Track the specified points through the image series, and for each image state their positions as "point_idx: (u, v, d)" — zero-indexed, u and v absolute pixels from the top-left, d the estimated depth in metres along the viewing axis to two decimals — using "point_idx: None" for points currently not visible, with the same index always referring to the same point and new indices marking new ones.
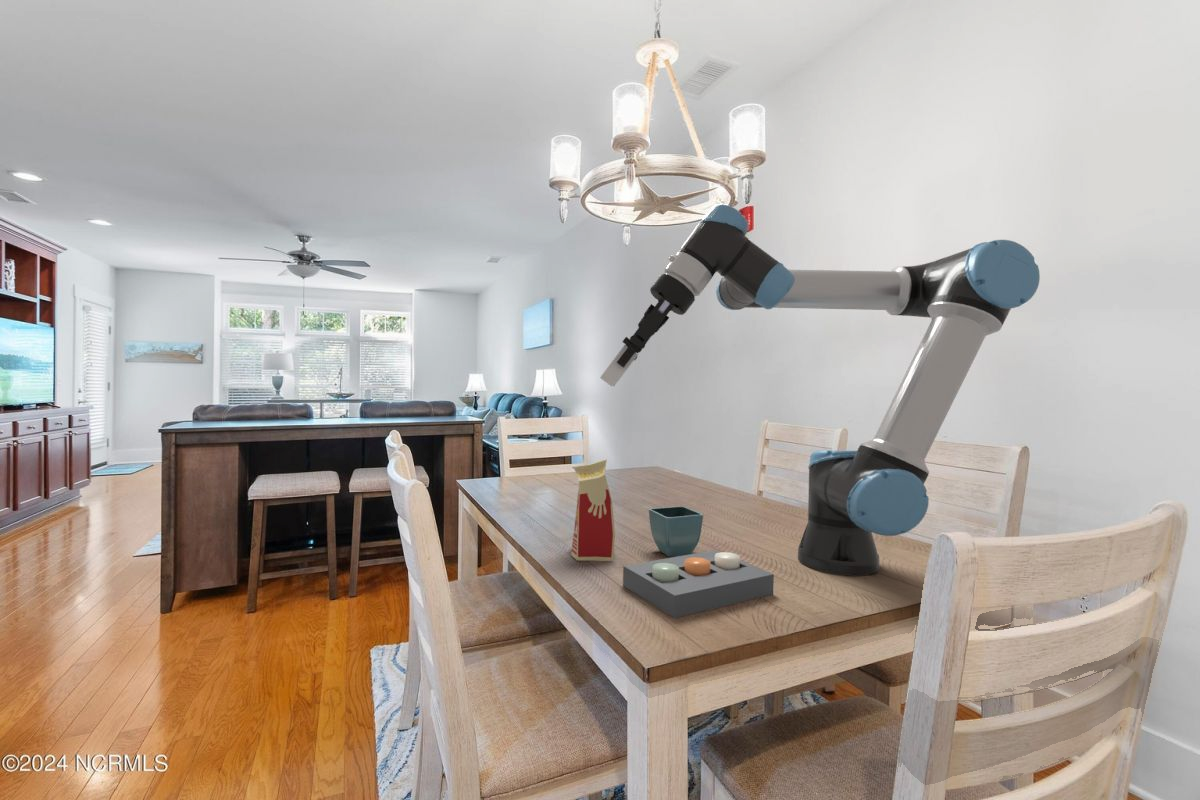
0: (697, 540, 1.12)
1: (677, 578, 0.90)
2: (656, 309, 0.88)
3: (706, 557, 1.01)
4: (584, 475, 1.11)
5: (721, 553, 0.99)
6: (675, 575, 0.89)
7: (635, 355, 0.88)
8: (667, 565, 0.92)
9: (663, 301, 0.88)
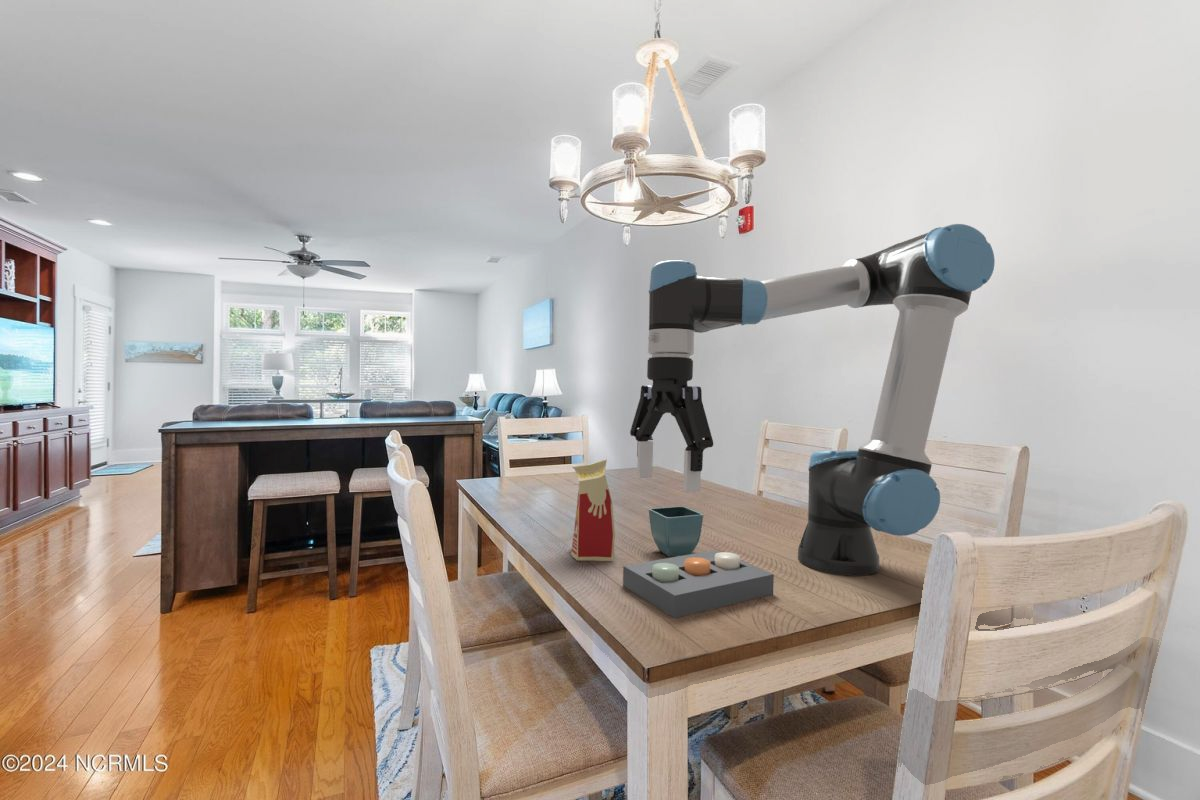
0: (697, 540, 1.12)
1: (677, 578, 0.90)
2: (692, 400, 0.84)
3: (706, 557, 1.01)
4: (584, 475, 1.11)
5: (721, 553, 0.99)
6: (675, 575, 0.89)
7: None
8: (667, 565, 0.92)
9: (692, 389, 0.84)
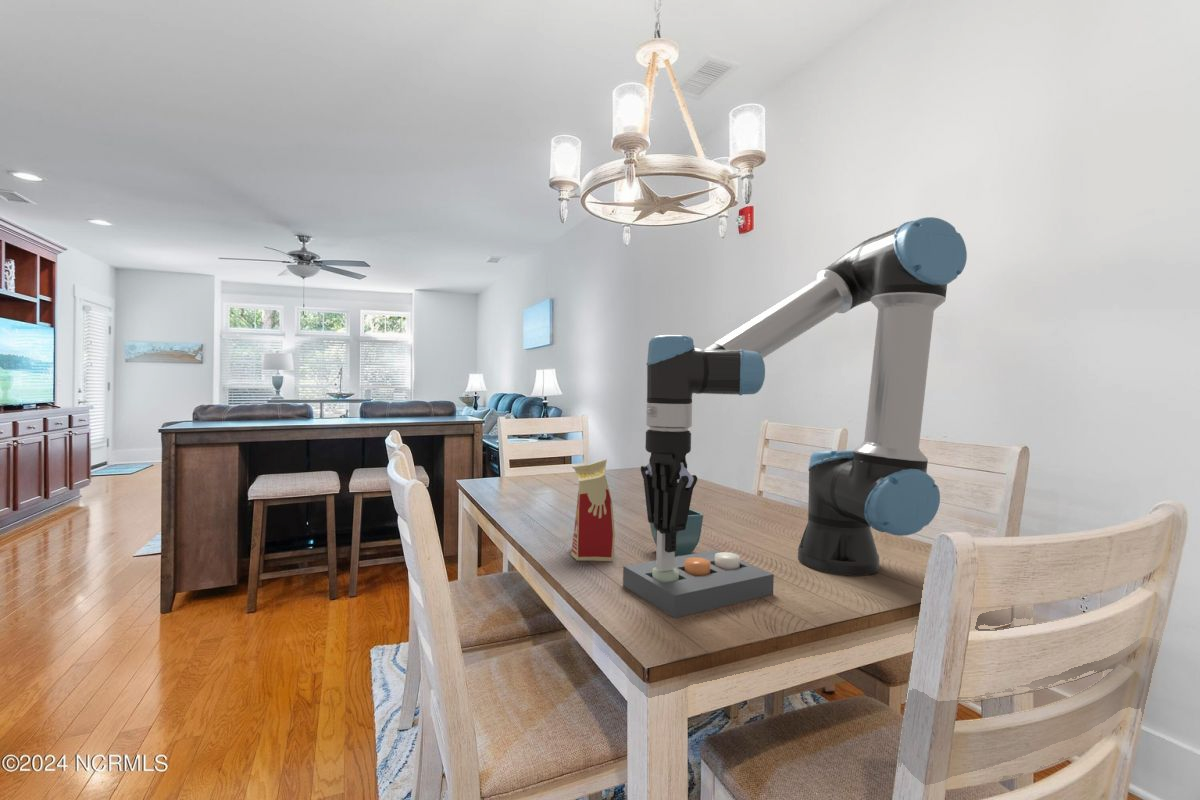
0: (697, 540, 1.12)
1: None
2: (683, 490, 0.85)
3: (706, 557, 1.01)
4: (584, 475, 1.11)
5: (721, 553, 0.99)
6: (675, 579, 0.89)
7: None
8: None
9: (688, 481, 0.84)
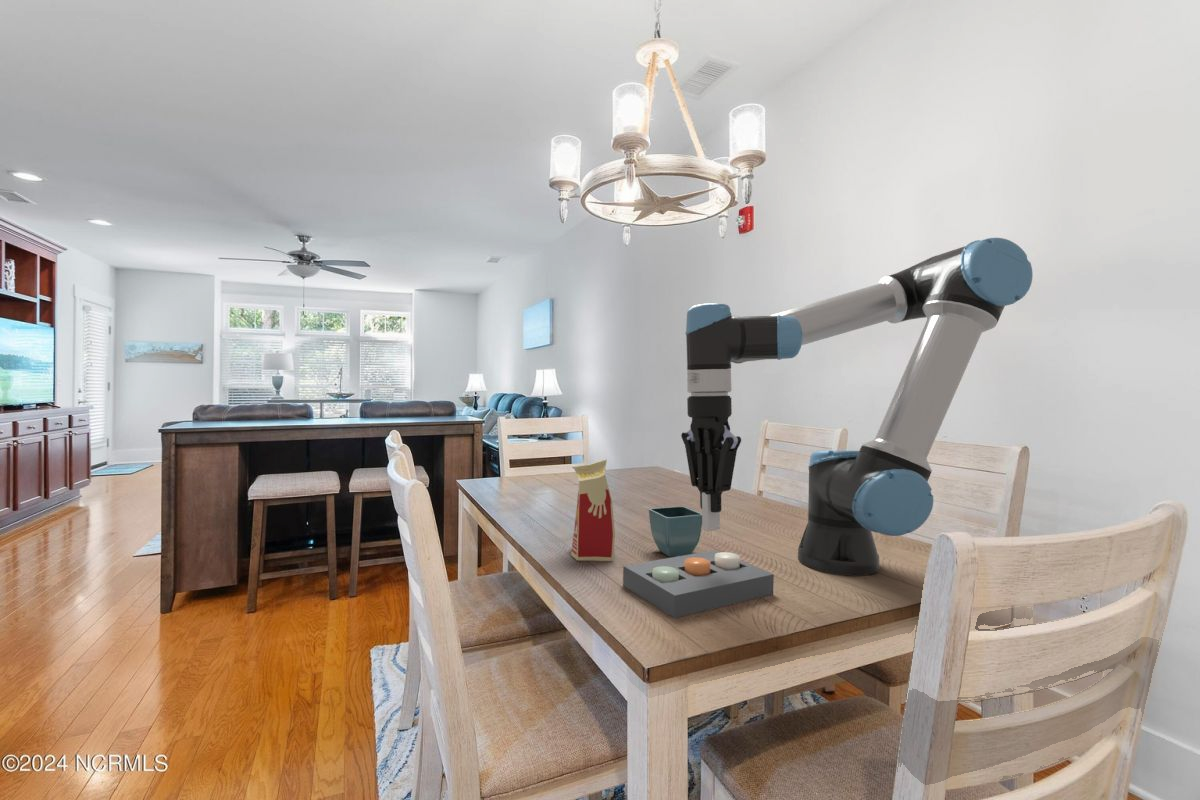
0: (697, 540, 1.12)
1: None
2: (728, 451, 0.89)
3: (706, 557, 1.01)
4: (584, 475, 1.11)
5: (721, 553, 0.99)
6: (675, 579, 0.89)
7: None
8: (667, 568, 0.92)
9: (732, 442, 0.88)
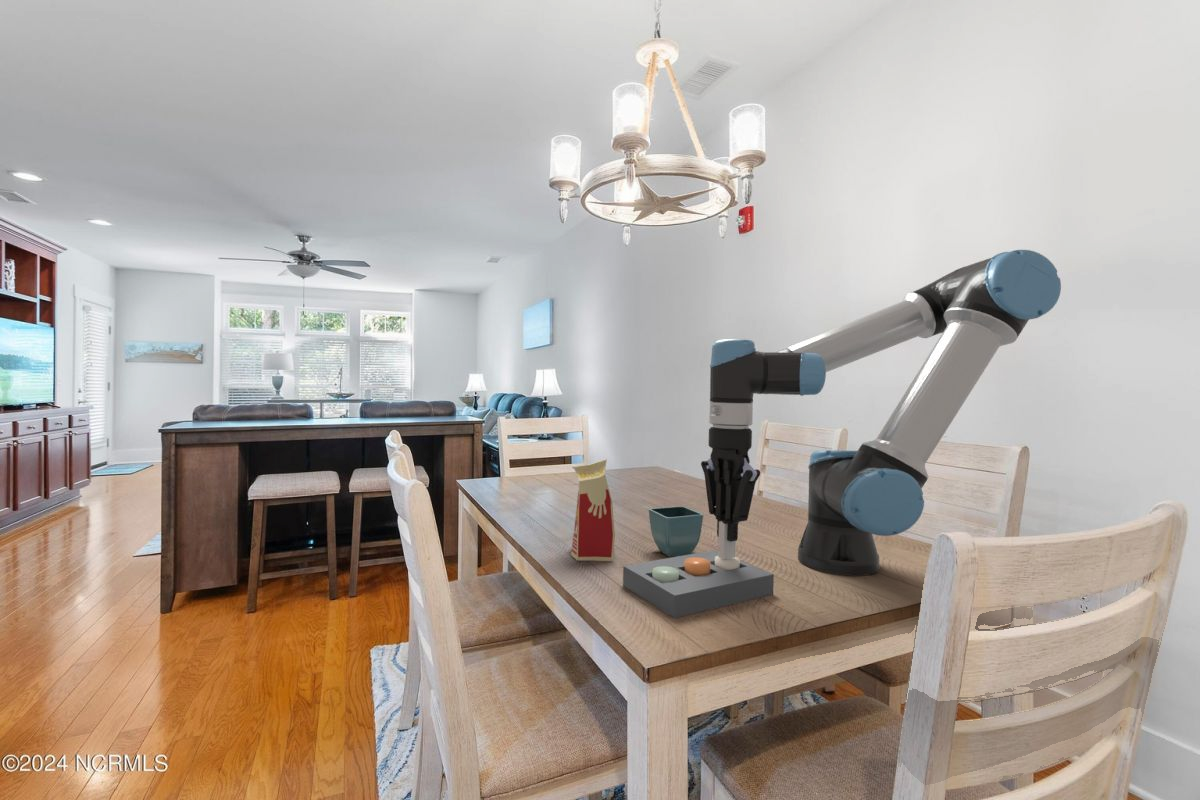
0: (697, 540, 1.12)
1: None
2: (747, 483, 0.92)
3: (706, 557, 1.01)
4: (584, 475, 1.11)
5: None
6: (675, 579, 0.89)
7: None
8: (667, 568, 0.92)
9: (752, 475, 0.91)
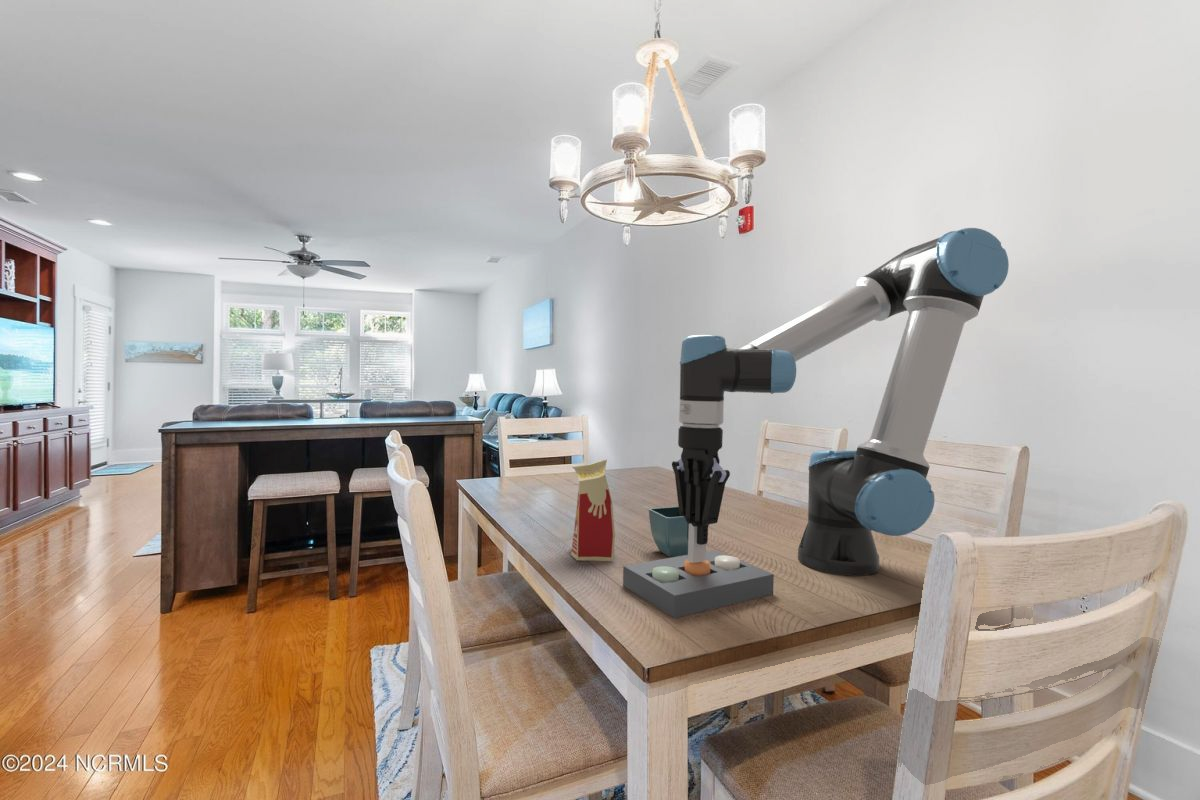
0: None
1: None
2: (716, 484, 0.89)
3: (706, 557, 1.01)
4: (584, 475, 1.11)
5: (721, 556, 0.99)
6: (675, 579, 0.89)
7: None
8: (667, 568, 0.92)
9: (721, 476, 0.88)
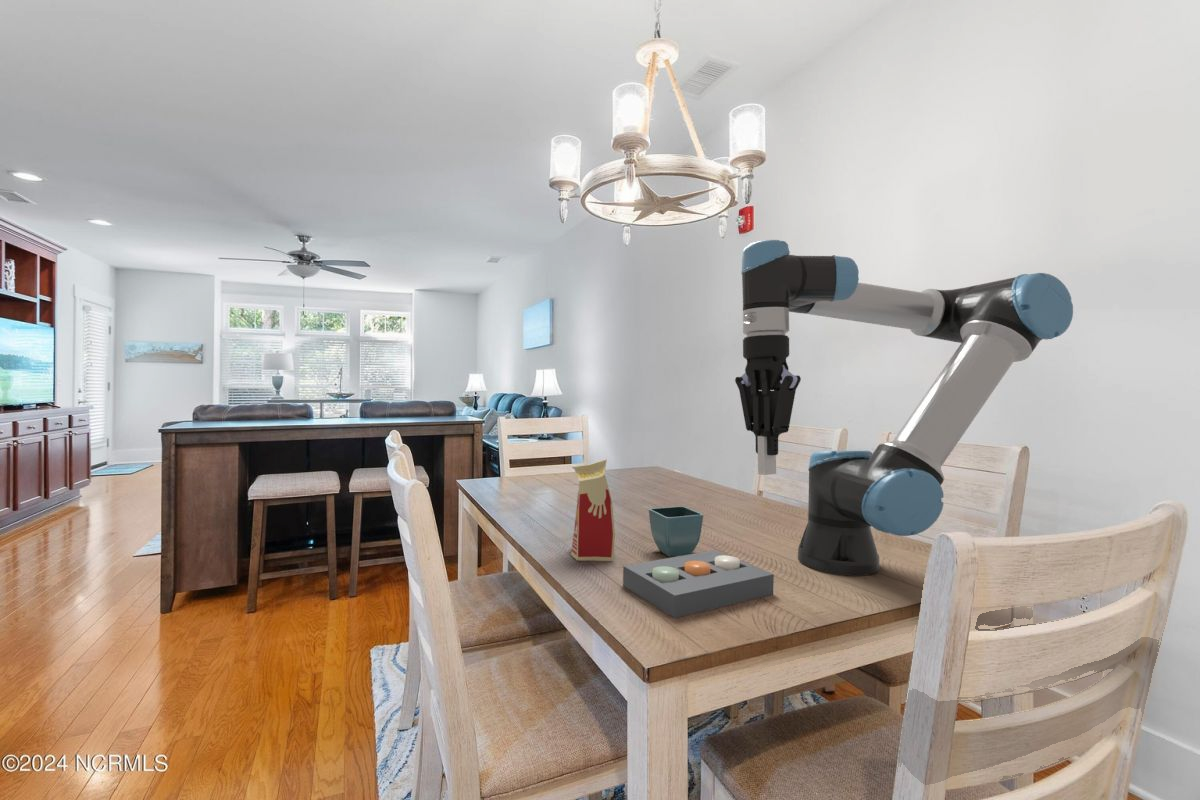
0: (697, 540, 1.12)
1: None
2: (787, 390, 0.87)
3: (706, 557, 1.01)
4: (584, 475, 1.11)
5: (721, 556, 0.99)
6: (675, 579, 0.89)
7: None
8: (667, 568, 0.92)
9: (792, 380, 0.86)
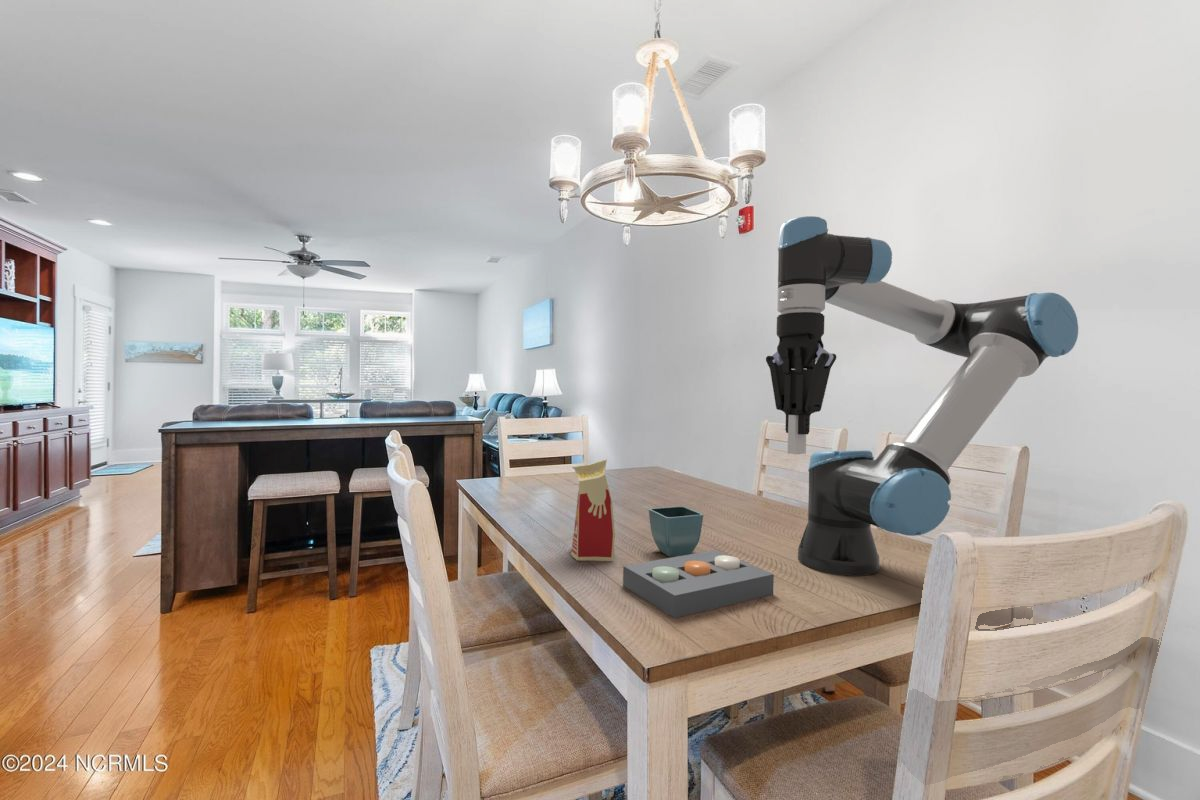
0: (697, 540, 1.12)
1: None
2: (822, 368, 0.86)
3: (706, 557, 1.01)
4: (584, 475, 1.11)
5: (721, 556, 0.99)
6: (675, 579, 0.89)
7: None
8: (667, 568, 0.92)
9: (828, 358, 0.85)
